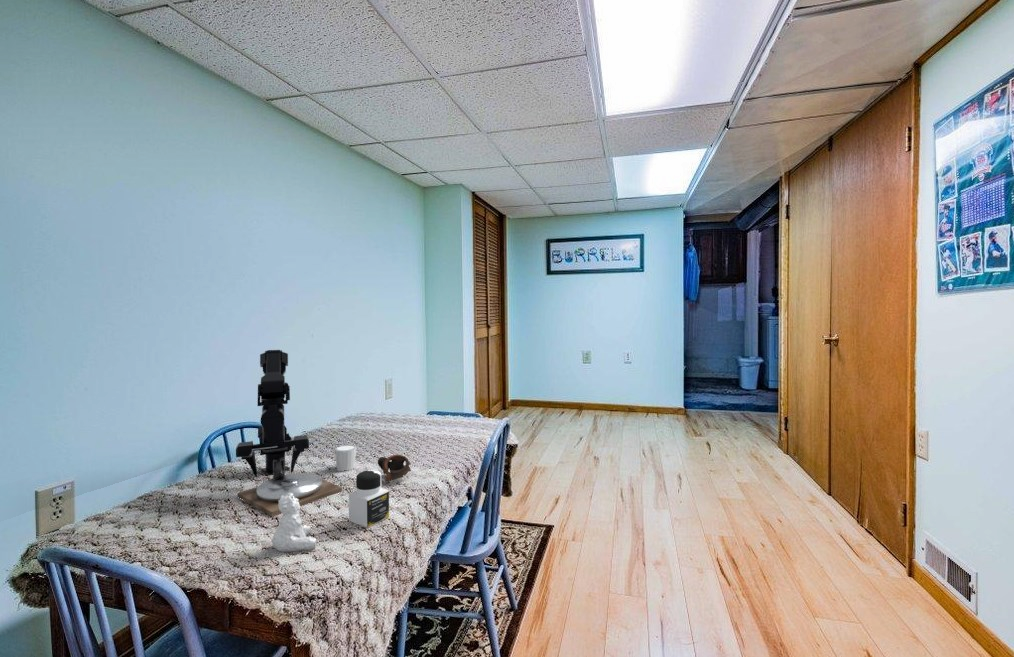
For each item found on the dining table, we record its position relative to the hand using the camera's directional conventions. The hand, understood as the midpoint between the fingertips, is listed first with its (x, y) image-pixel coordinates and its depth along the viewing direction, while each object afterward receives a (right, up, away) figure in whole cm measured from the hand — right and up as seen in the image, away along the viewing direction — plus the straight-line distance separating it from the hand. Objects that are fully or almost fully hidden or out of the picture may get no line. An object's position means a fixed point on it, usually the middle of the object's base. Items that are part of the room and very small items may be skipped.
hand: (274, 474), depth 129 cm
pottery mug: (+33, -5, +11) cm, 35 cm away
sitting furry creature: (+21, -6, -31) cm, 37 cm away
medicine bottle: (+34, -6, -18) cm, 39 cm away
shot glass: (+14, -4, +18) cm, 24 cm away
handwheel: (+6, -3, -3) cm, 8 cm away
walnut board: (+6, -5, -3) cm, 8 cm away
